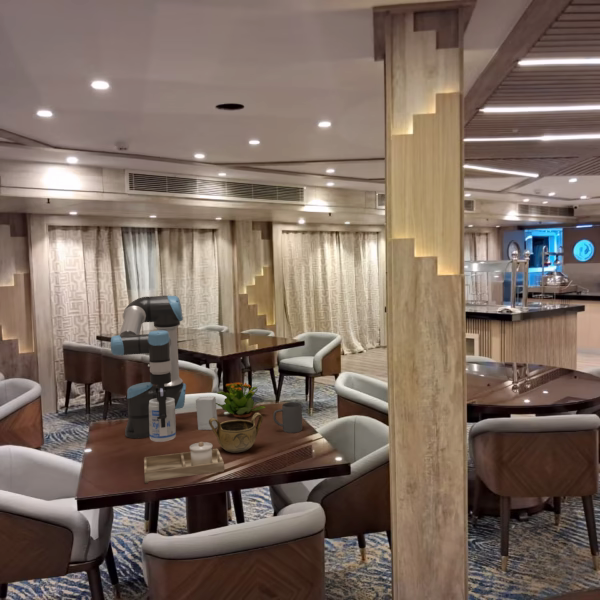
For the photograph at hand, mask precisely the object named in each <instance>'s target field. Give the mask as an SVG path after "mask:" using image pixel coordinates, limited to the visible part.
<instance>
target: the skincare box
mask: <svg viewBox="0 0 600 600" xmlns="http://www.w3.org/2000/svg"><path fill="white" fill-rule="evenodd" d="M216 403H217V401H216V396H199V397H198V398H196V399H195V406H196V407H195V408H196V419H197V429H198V431H203V430H204V431H206V430H207V431H209V430H210V431H213V430H212V428H211V426H210V424H209V419H210V418H215V419H217V420H218V413H217V411H218V410H217V404H216ZM212 425H213V427H214V428H215V429H217V427H218V425H217V422H216V421H215V420H214V421H212Z"/></svg>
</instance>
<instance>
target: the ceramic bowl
mask: <svg viewBox="0 0 600 600" xmlns="http://www.w3.org/2000/svg"><path fill="white" fill-rule="evenodd" d="M257 417H258V418H257ZM256 419H258V420H257V423H256ZM214 420H215V421H216V422H217V425H218V427H217V428H214V427H213V425H212V421H214ZM263 420H264V416H263V415H262V414H261V413H260V412H259V411H258V412H257V411H256V412H255V413H254V414H253V415H252V417H251V420H247V419H230V420H226V421H222V422H221V423H220V421H219V420H218V418H217V419H215V418H210V419H209V424H210V426H211V428H212V430H211V431H213V433H214V435H215V436H216V439H217V442H218V444H219V446H220V447H221V448H222V449H223V450H225V451H226V452H228V453H233V454H235V453H237V454H239V453H242V452H247V451H248V450H249V449H251V448H252V447H253V445H255V443H256V439H257V436H258V434H259V431H260V428H261V426H262V422H263Z"/></svg>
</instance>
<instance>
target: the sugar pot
mask: <svg viewBox="0 0 600 600" xmlns="http://www.w3.org/2000/svg"><path fill="white" fill-rule="evenodd" d="M212 449H213V443H211V442H207V441H199V442H196V443H192V444H190V445H189V450H190V452H191V466H196V465H204V464H211V463H212Z"/></svg>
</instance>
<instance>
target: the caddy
mask: <svg viewBox="0 0 600 600" xmlns="http://www.w3.org/2000/svg"><path fill="white" fill-rule="evenodd" d="M143 462H144V463H143V465H144V466H143V467H144V470H143V471H144V484H145V485H146V484H149V482H152V481H161V480H167V479H175V478H183V477H191V476H198V475H206V474H216V473H221V472H225V463H224V459H223V457H222V455H221V453H220V451H219V448H212V463H211V464H204V465H196V466H191V451H186V452H185V451H184V452H179V453H170V454H160V455H152V456H145V457H143Z"/></svg>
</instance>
